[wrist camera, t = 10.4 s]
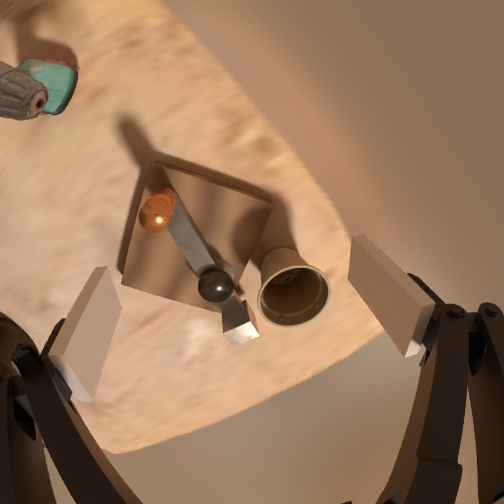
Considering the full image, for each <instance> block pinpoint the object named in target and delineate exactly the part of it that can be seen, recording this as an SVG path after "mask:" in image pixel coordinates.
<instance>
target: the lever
mask: <svg viewBox="0 0 504 504" xmlns="http://www.w3.org/2000/svg"><path fill="white" fill-rule="evenodd" d="M138 218H139V222H140V224H141V226H142V227H143V228H144V229H145V230H146V231H148V232H152V233H158V232H161V231H163V230H164V229H166V228H167V229H168V231H169V232H170V234H171V236H172V237H173V239H174V240H175V242H176V243H177V245H178V246H179V248H180V250H181V251H182V253H183V254H184V256H185V257H186V259H187V260H188V262H189V263H190V265H191V266H192V268H193V269H194V271H195V272H196V274H197V275H198V277H199V281H198V292H199V294H200V296H201V297H202V298H203V299H204V300H206V301H208V302H212V303H217V305H218V306H219V308H220V309H221V311H222V324H223V333H224V335H225V336H226V337H227V339H228V340H229V341H230V343H231V344H232V345H233V347H234V346H236V345H239V344H241V343H243V342H246V341H248V340H250V339H253V338H255V337H257V336H259V332H258V327H257V323H256V318H255V314H254V312H253V310H252V309H251V307H250V306H249V304H248V302H247V301H246V300H244V301H242V300H241V299H240V297H239V296H238V294H237V293H236V291H235V289H234V288H233V280H232V278H231V276H230V275H229V274H228V273H227V272H225V271H223V270H222V268H221V267H220V265H219V264H218V262H217V260H216V259H215V257H214V255H213V254H212V252H211V250H210V249H209V247H208V246H207V244H206V242H205V241H204V239H203V237H202V236H201V234H200V232H199V231H198V229H197V227H196V226H195V224H194V222H193V221H192V219H191V217H190V215H189V214H188V212H187V210H186V209H185V207H184V205H183V204H182V202H181V200H180V198H179V197H178V195H177V193H176V192H175V191H172V190H171V189H169V188H167V187H159V188H157V189H155V190H154V191H153V192H152V193H151V195H150V196H149V198H148V199H147V200H146V202H145V203H144V205H143V206H142V208H141V209H140V211H139V215H138Z"/></svg>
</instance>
